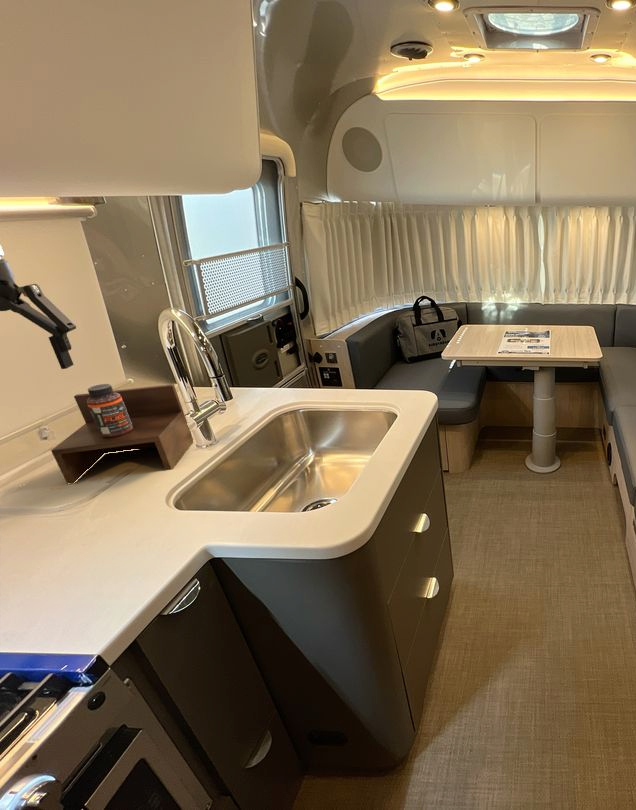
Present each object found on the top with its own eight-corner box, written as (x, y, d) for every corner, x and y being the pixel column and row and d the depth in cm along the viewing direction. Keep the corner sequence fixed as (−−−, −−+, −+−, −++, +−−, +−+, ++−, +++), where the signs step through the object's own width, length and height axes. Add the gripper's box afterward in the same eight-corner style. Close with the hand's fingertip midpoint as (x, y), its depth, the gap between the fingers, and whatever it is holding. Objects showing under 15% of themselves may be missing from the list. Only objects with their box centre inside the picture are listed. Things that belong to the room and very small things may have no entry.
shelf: (171, 470, 112) (147, 408, 106) (68, 485, 107) (36, 421, 100) (194, 441, 125) (173, 384, 119) (102, 453, 120) (76, 394, 114)
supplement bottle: (111, 440, 107) (91, 393, 103) (94, 436, 109) (74, 390, 104) (140, 428, 112) (122, 383, 108) (123, 425, 114) (105, 380, 110)
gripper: (71, 255, 94) (110, 358, 102) (-95, 260, 88) (-40, 370, 96) (48, 259, 88) (91, 369, 96) (-134, 265, 81) (-71, 383, 89)
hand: (26, 370), depth 96 cm, fingers open, 13 cm apart
